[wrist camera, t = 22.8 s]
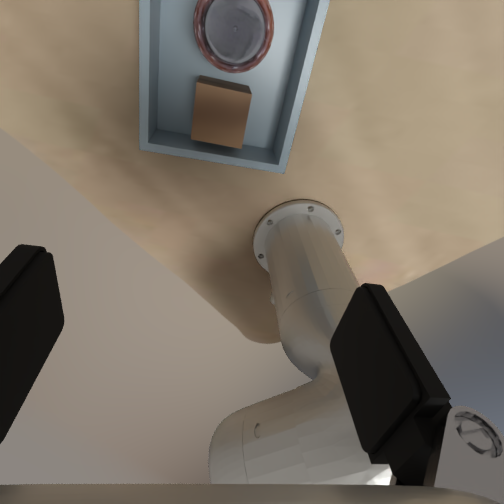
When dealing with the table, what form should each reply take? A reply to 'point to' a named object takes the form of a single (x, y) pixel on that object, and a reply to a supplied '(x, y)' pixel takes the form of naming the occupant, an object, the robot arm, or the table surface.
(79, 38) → the table surface
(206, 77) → the walnut cube
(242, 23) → the supplement bottle
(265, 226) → the robot arm
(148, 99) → the tote
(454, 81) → the table surface
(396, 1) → the table surface
